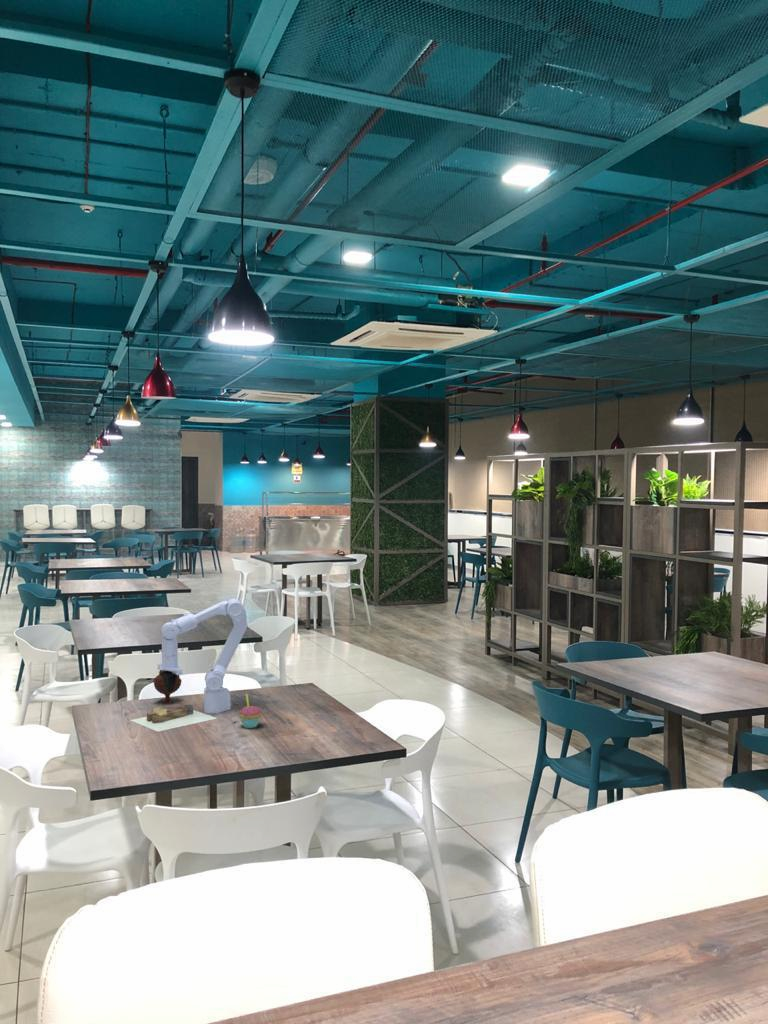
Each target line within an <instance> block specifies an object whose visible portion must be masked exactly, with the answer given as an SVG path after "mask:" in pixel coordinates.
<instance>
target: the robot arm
mask: <svg viewBox="0 0 768 1024" xmlns="http://www.w3.org/2000/svg"><path fill="white" fill-rule="evenodd" d="M227 614H228V616H229V617H230V618H231V621H232V623H233V627H232V629H231V631H230V633H229V635H228V637H227V639H226V640H225V643H224V645H223V647H222V650H221V651H220V653H219V655H218V657H217V659H216V661H215V663H214V664H213V665H212V667H211V669H210V670H209V671H208V672H206V673H205V676H204V681H205V688H204V689H203V697H204V698H203V701H204V702H203V707H204V708H203V712H204V713H205V714H219V713H223V712H226V711H230V710H231V709H232V708H231V707H232V706H231V693H230V690H229V689H228V688H226V687H224V686H223V684H224V677H225V676H226V672H227V668H228V667H229V664H230V663H231V661H232V659H233V657H234V655H235V653H236V651H237V648H238V646H239V645H240V643H241V641H242V639H243V637H244V634H245V632H246V631H247V628H248V619H247V618H248V617H247V610H246V608H245V606H244V605H243V603H242V601H241V600H240V599H238V598H236V597H232V598H229V599H228V600H224V601H220V602H218V603H216V604H214V605H212V606H209V607H207V608H206V609H203V610H201V611H200V612H197V613H196V614H193V613H191V612H189V613H183V616H181V617H178V618H176V619H175V618H173V619H171V622H169V621H168V622H166V623H164V624H163V625H162V627H161V635H162V638H161V641H162V643H161V663H158V664H157V670H159V671H160V670H164V672H162V673H161V676H162V678H163V680H164V683H165V687H166V691H167V692H171V691H173V690H174V686H175V682H176V679H177V677H178V676H179V677H180V676H181V675H183V668H181V667H180V666H178V665H179V664H178V663H179V660H178V658H179V656H178V655H179V651H178V646H179V645H178V641H177V640H178V635H182V634H184V633H187V632H188V631H190V630H191V631H192V630H193V629H195V628H197V627H198V624H199V623H201V622H203V621H204V620H207V619H210V618H212V617H215V616H217V615H221V616H227Z"/></svg>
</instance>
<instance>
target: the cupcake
mask: <svg viewBox="0 0 768 1024" xmlns="http://www.w3.org/2000/svg"><path fill="white" fill-rule="evenodd" d="M245 693H246V694H245V699H246V706H244V707H242V708H241V709H240V710H239V711H238V713H237V714H238V718H240V720H241V722H242V724H243V725H242V726H243V727H244V728H245V729H253V728H257V727H258V724H259V720H260V719H261V718H262V717H263V715H264V712H263V710H262V709H261V707H258V706H254V705H250V703H249V695H248V693H247V692H245Z"/></svg>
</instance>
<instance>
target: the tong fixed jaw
mask: <svg viewBox="0 0 768 1024" xmlns="http://www.w3.org/2000/svg"><path fill="white" fill-rule="evenodd" d="M183 708H186V709H188V715H191V714H193V710H194V704H185V705H184V707H182V706H178V707H174V708H168V709H167V712H170V711H174V710H178V709H183ZM153 715H156V714H154V711H152V712H149V713H146V717H147V721H149V722H150V721H152V716H153Z"/></svg>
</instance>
